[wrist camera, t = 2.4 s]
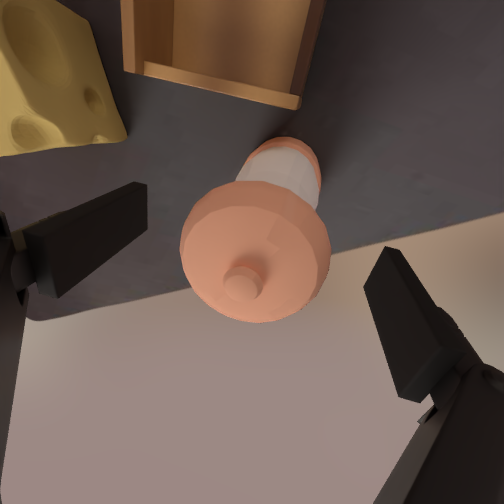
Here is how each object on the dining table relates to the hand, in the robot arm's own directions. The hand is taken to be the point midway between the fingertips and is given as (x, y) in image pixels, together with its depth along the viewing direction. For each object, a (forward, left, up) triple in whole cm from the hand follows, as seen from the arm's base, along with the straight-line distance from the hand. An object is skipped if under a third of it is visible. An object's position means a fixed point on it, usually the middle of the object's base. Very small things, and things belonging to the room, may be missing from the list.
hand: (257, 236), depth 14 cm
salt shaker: (0, 0, -14) cm, 14 cm away
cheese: (+23, -3, -14) cm, 27 cm away
